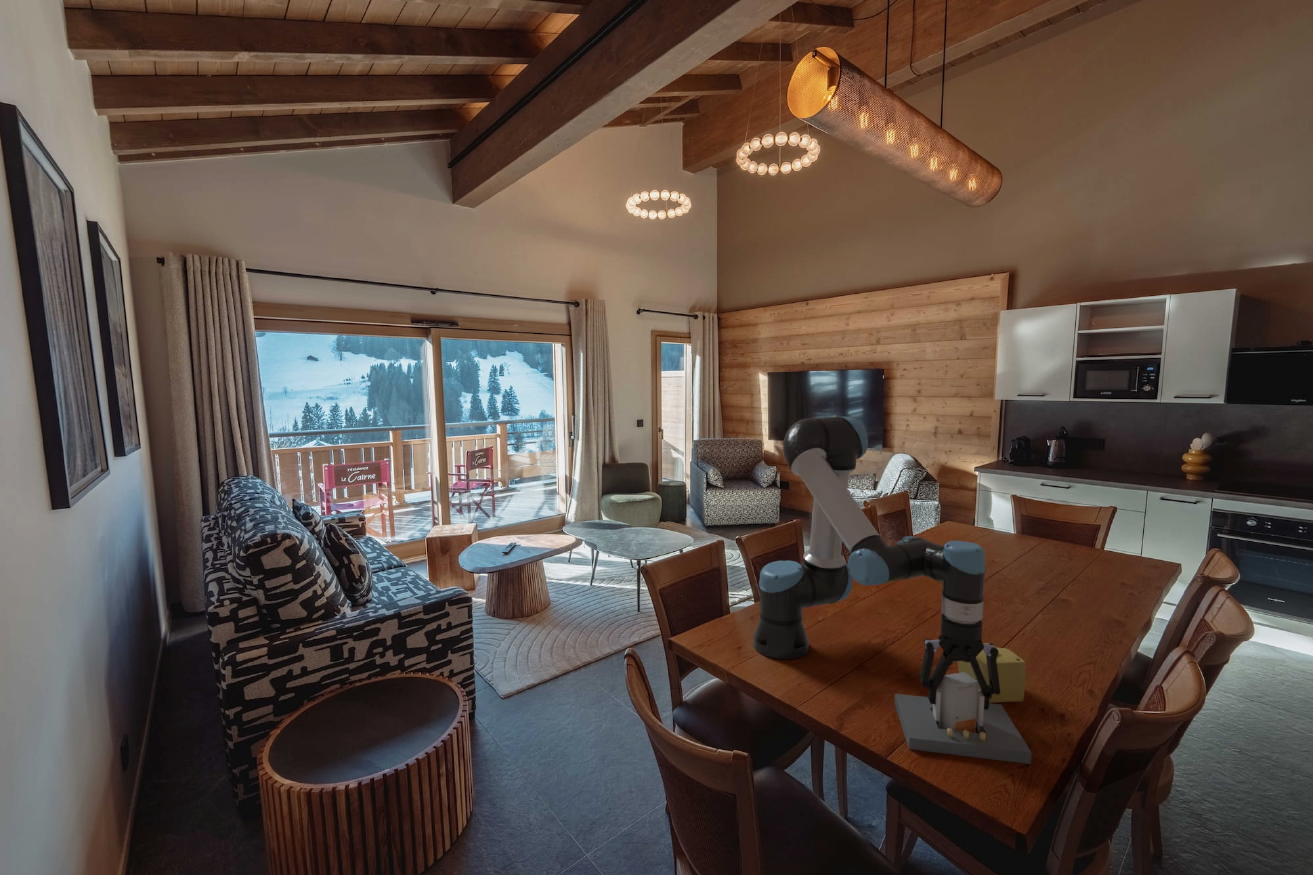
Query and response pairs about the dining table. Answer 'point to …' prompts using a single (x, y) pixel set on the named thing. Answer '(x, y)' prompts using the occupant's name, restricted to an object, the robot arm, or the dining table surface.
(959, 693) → the skincare box
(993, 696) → the cheese
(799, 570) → the robot arm
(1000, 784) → the dining table surface
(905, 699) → the grey frame plate
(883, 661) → the dining table surface
